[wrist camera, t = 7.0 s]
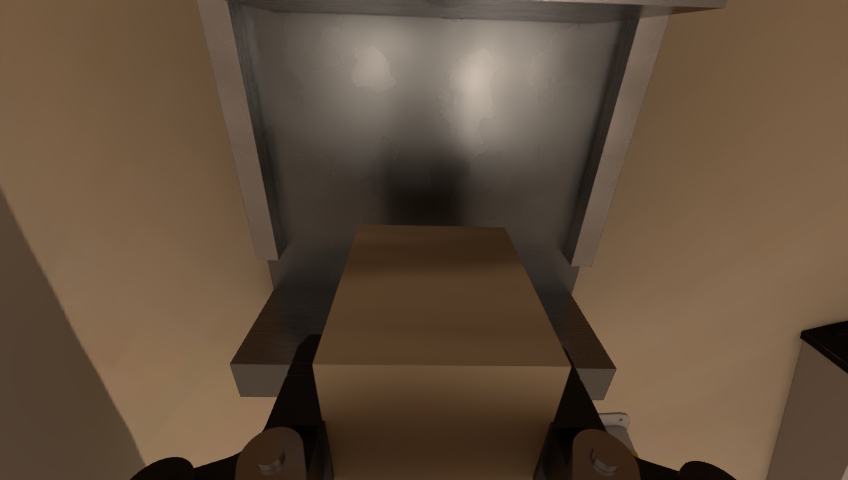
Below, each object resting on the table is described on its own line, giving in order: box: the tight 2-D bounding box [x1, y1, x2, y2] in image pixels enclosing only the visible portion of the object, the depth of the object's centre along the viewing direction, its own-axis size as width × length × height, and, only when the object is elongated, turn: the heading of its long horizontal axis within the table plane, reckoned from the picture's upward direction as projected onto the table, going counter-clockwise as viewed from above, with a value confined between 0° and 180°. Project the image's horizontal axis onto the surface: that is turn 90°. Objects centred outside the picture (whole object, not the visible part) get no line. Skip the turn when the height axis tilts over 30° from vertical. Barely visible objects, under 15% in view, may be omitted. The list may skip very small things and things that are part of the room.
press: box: [197, 0, 670, 400], centre depth 14 cm, size 20×16×6 cm
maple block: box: [312, 225, 571, 480], centre depth 11 cm, size 5×5×6 cm
